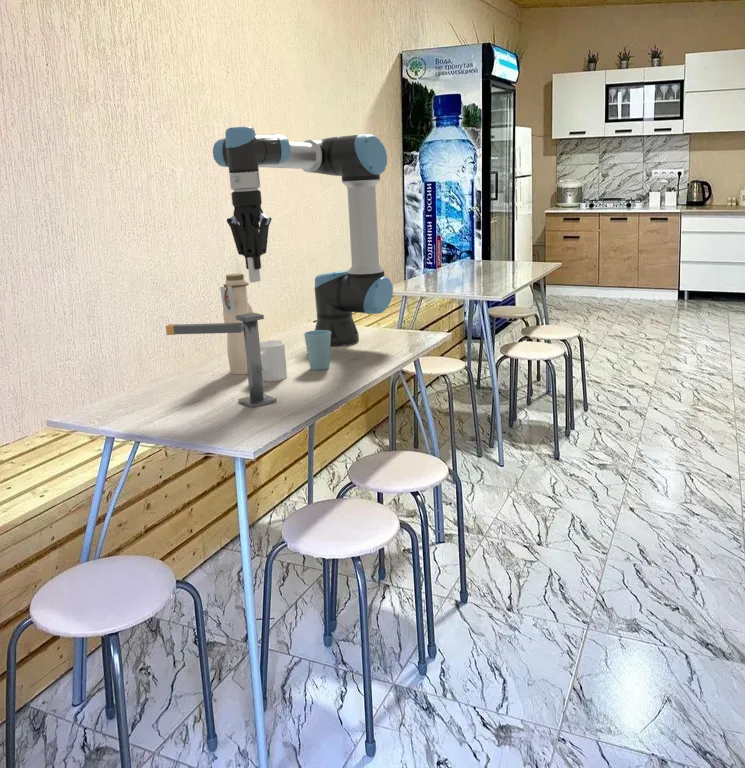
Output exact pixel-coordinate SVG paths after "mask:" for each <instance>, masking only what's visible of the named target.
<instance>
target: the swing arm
mask: <svg viewBox="0 0 745 768" xmlns="http://www.w3.org/2000/svg"><path fill="white" fill-rule="evenodd" d="M242 331H243V323H225V322H219V323H218V322H215V323H214V322H213V323H212V322H211V323H186V324H183V323H181V324H180V323H179V324H177V323H172V324H171V323H169V324H167V325H166V326H165V332H166V334H165V335H166V336H175V335H201V334H205V335H206V334H227V333H241V332H242Z"/></svg>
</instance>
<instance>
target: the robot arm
mask: <svg viewBox="0 0 745 768" xmlns="http://www.w3.org/2000/svg"><path fill="white" fill-rule="evenodd" d="M212 156H213V159H214V161H215V163H216V164H217V165H218V166H220V167H222V168H228V173H229V174H228V175H229V182H230V190H232V192H231V205H232V206H233V207H234V209H233V215H231V217H229V218H226V222H227V224H228V226H229V228H230V231H231V234H232V237H233V240H234V244H235V248H236V251H237V254H238V255H241V256H243V257H244V259H245V267H246V270H248V278H249V283H258V282H261V273H260V269H261V268H262V262H261V256H262V255H265V254H267V248H268V247H267V246H268V239H269V231H270V229H269V228H270V224H271V222H272V217H271V216H267V215H265V214H264V212H263V209H262V203H263V202H262V190H261V191H260V188H261V181H260V171H259V168H271V169H272V168H273V169H274V168H275V169H296V170H298V169H299V170H300V169H301V170H302V171H304V172H305V173H310V174H311V173H313V174H321V175H327V176H328V175H329V176H336V177H337V176H338V177H341V183H342V184H343V185H345V187H346V189H347V203H348V221H349V223H348V224H349V236H350V240H349V241H350V256H351V267H350V268H349V269H347V270H346V269H345V270H338V271H330V272H326V273H321V274H320V273H319V274H317V275H316V276H315V278H314V288H313V289H314V298H315V309H316V310H315V311H316V323H315V328H314V330H328V331H331V342H330V347H342V346H349V345H352V344H353V345H354V344H356V343H358V342H360V337H359V331H358V330H357V326H356V324H355V322H354V318H353V313H359V314H367V315H373V314H375V315H376V314H377V315H379V314H381V313H383V312H385V311H386V309H387V310H388V308H389V305H390V304H391V302H392V299H393V295H394V286H393V283H392V282H391V279H390V278H389V277H387V276H386V275H385V269H384V268H383V267H382V266H381V265H380V257H379V256H380V255H379V253H380V252H379V237H378V236H379V235H378V232H379V231H378V215H377V214H378V213H377V212H378V211H377V195H376V194H377V191H376V186H377V185H378V183H379V182H380V181H381V174H383V172H385V170H386V168H387V165H388V156H387V150H386V147H385V145H384V144H383V142H382V141H381V139H380V138H379V137H378V136H376V135H373V134H367V133H366V134H363V133H361V134H355V135H353V134H352V135H343V136H332V137H328V138H327V137H326V138H322V139H321V138H320V139H306V140H304V141H303V142H298V141H297V142H294V141H289V139H288V138H287V137H286V136H285V135H282V134H276V133H273V134H272V133H271V134H256V132H255V128H254V127H253V126H236V127H235V126H234V127H228V128H226V130H225V138H222V139H218V140H217V141H216V142H215V143H214V145H213V148H212Z"/></svg>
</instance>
